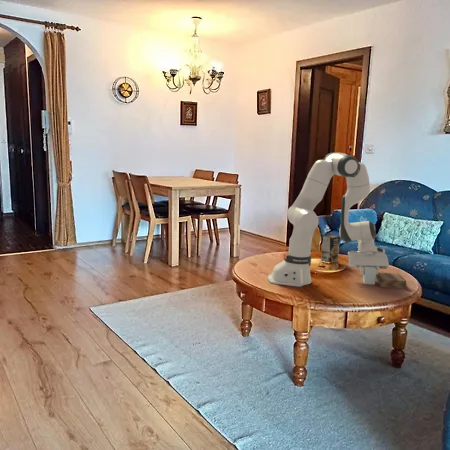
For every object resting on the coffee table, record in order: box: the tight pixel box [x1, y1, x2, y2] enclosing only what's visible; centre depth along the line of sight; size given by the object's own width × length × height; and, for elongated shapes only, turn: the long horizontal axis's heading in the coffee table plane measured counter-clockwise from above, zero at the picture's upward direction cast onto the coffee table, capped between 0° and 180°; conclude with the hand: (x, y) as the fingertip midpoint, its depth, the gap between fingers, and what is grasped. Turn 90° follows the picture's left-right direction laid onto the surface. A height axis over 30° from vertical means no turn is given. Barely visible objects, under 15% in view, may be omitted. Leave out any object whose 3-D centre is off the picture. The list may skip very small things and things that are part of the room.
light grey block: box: [362, 266, 377, 285], centre depth 224 cm, size 5×5×8 cm
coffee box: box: [320, 234, 341, 263], centre depth 258 cm, size 9×6×16 cm
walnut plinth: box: [375, 271, 407, 289], centre depth 224 cm, size 12×12×4 cm
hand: (369, 274), depth 223 cm, fingers closed on light grey block, 5 cm apart
